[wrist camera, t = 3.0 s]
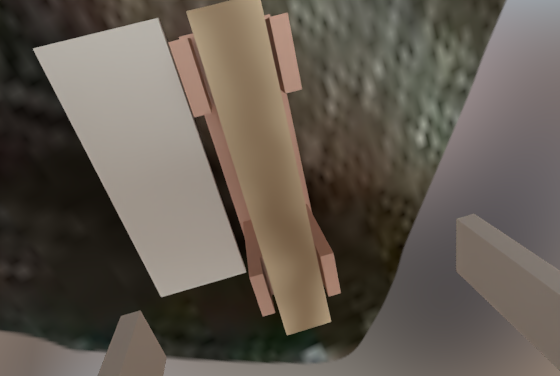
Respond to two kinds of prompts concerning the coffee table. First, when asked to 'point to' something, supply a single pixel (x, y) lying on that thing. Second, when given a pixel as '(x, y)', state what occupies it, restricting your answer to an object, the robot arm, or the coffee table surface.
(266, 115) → the rail
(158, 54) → the mat
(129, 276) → the coffee table surface
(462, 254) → the robot arm
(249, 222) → the stand
